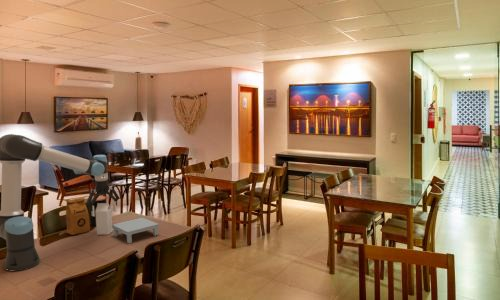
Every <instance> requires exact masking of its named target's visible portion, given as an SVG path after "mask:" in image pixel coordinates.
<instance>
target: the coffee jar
mask: <svg viewBox="0 0 500 300" xmlns="http://www.w3.org/2000/svg"><path fill="white" fill-rule="evenodd" d="M93 198H94V196H93V197H92V199H93ZM106 199H107V198H106V196H104V195H100V196H99V197H98V198H97V200H96V201H95V202H94V204H93V206H94V213H95V211H96V208H97V203H107V200H106ZM91 201H92V200H91ZM88 207H89V206H88ZM88 209H89V220H90V226H91V227H96V213H95V216H94V217H93V216H92V213H91V211H90V207H89V208H88Z"/></svg>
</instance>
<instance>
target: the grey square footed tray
mask: <svg viewBox="0 0 500 300" xmlns="http://www.w3.org/2000/svg"><path fill="white" fill-rule="evenodd" d="M159 227H160V225H159V223H157V222H154V221H151V220H149V219H147V218H145V217H139V218H134V219H132V220H126V221H122V222H118V223H114V224H113V223H112V228H113V237H119V233H122V234H124V235H126V243H127V244H131V243H133V239H132V236H133V235H134V234H138V233H143V232H146V231H150V230H152V235H153V236H154V237H156V235H157V236H159V229H158V228H159Z"/></svg>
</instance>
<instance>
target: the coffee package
mask: <svg viewBox="0 0 500 300" xmlns="http://www.w3.org/2000/svg"><path fill="white" fill-rule="evenodd" d="M65 218H66V221H65V223H66V231H67V234H69V235H72V236H73V235H79V234H83V233H87V232H90V230H91V224H90V213H89V211H88V208H87V205H86V201H85V197H79V198H74V199H73V198H72V199H67V200H66V207H65Z"/></svg>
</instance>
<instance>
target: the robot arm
mask: <svg viewBox="0 0 500 300" xmlns="http://www.w3.org/2000/svg"><path fill="white" fill-rule="evenodd" d="M26 160H28V161H34V162H36V161H40V162H44V163H48V164H52V165H56V166H59V167H61V168H66V169H69V170H72V171H73V172H74V174H75V175H82V174H86V175H91V176H94V180H95V181H94V182H95V183H94V184H95V185H94V186H95V189H93V188H91V189H90V190H89V191H90V192H89V195H88V198H87V200H86V201H85V204H86V206H88V207H90V210H89V212H90V211H91V213H92V216H93V217H94V216H95V213H94V206H93V204H94V202H95V201H96V200H97V198H98V197H99V196H104V195H108V197H110V198H111V199H112V211H113V212H117V206H118V201H119V200H120V198H121V197H120V196H119V195H118V193H117V191H116V189H115V186H113V185H110V186H109V175H108V174H109V173H108V160H107V155H105V154H96V155H93V158H92V159H87V158H83V157H81V156H77V155H74V154H71V153H68V152H64V151H62V150H58V149H55V148H52V147H48V146H45V145H43V142H39V141H36V140H34V139H31V138H29V137H27V136H24V135H19V134H14V133H10V134H5V135H3V136H1V137H0V163H1V188H0V190H1V193H0V194H1V195H0V196H1V197H0V200H1V202H0V238H2V239H4V240H5V241H6V243H5V244H6V252H7V253H6V256H5V260H4V263H3V268H5V269H8V270H20V271H22V270H21V269H25V270H27V269H26V268H29V269H31V268H34V267H35V265H36V266H38V265H39V264H40V263H41V262H40V261H41V258H40V255H39V253H38V251H37V249H36V247H35V245H36V244H35V234H34V222H33V219H32V218H31V217H29V216H25V211H23V210H22V205H21V204H22V165H23V164H24V162H25V161H26ZM109 190H111V192H110V191H109ZM92 197H94V198H93V199H92ZM91 200H92V201H91ZM39 262H40V263H39ZM38 263H39V264H38ZM33 266H34V267H33ZM30 267H31V268H30ZM5 269H4V270H5Z"/></svg>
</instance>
